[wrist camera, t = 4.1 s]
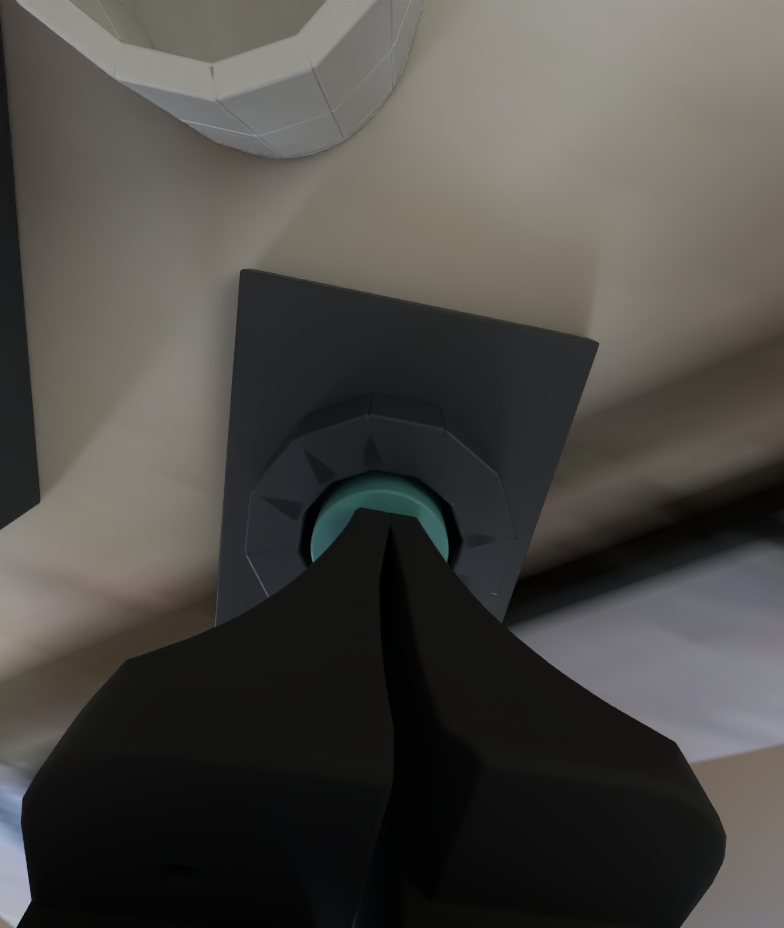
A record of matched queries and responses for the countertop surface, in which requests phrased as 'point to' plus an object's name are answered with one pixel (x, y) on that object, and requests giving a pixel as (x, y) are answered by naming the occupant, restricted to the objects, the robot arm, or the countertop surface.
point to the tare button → (378, 506)
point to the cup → (248, 62)
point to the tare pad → (387, 426)
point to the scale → (13, 350)
